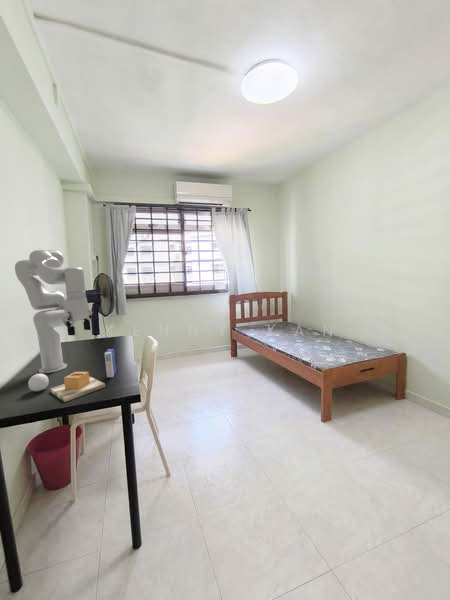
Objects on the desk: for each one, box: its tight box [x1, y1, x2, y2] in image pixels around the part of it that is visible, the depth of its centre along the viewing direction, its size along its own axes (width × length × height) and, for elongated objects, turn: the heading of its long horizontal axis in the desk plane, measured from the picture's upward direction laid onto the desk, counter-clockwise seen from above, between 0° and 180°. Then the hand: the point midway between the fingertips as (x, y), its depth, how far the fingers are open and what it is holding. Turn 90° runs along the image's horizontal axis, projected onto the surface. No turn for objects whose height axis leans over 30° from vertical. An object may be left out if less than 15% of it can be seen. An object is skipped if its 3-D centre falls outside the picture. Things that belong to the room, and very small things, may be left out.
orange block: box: [63, 371, 90, 390], centre depth 114 cm, size 7×7×5 cm
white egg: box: [27, 373, 50, 392], centre depth 114 cm, size 10×7×7 cm
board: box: [49, 375, 106, 403], centre depth 114 cm, size 16×16×6 cm
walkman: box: [104, 348, 117, 379], centre depth 129 cm, size 8×3×12 cm, turn 11°
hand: (79, 332), depth 122 cm, fingers open, 9 cm apart
